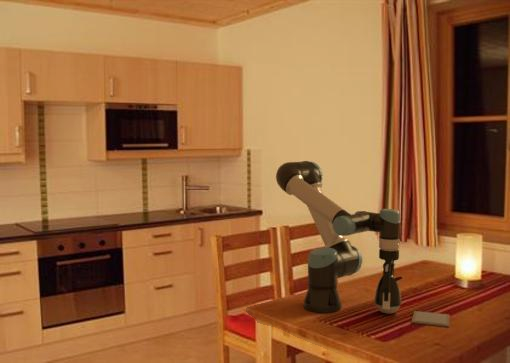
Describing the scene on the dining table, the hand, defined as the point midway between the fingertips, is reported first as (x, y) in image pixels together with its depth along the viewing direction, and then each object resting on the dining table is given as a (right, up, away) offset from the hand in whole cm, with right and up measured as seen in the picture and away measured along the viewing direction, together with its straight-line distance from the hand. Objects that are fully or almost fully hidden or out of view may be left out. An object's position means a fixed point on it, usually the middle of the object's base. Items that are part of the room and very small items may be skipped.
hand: (388, 304), depth 213 cm
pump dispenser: (0, -3, 0) cm, 3 cm away
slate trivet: (+14, -4, -8) cm, 17 cm away
